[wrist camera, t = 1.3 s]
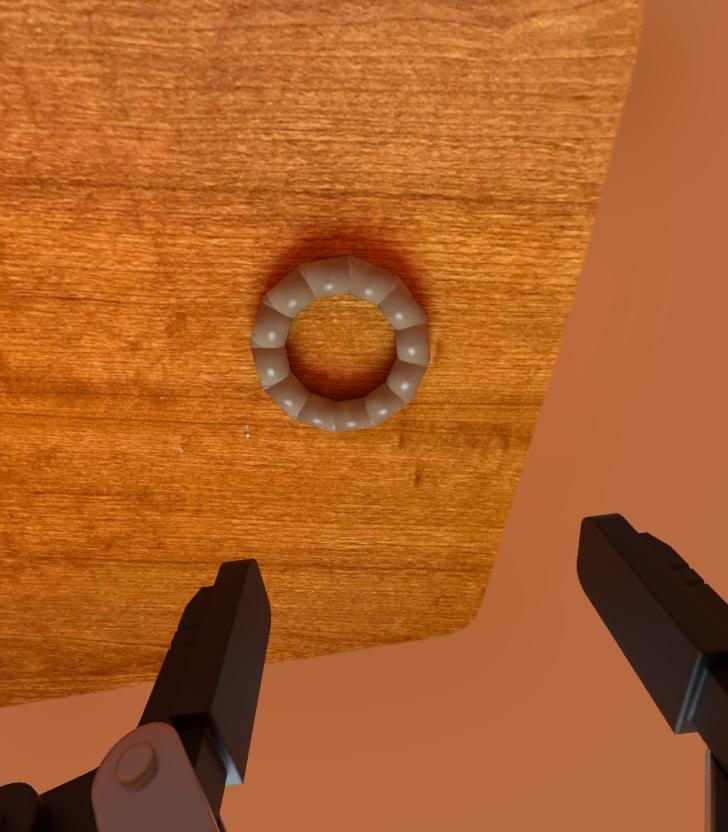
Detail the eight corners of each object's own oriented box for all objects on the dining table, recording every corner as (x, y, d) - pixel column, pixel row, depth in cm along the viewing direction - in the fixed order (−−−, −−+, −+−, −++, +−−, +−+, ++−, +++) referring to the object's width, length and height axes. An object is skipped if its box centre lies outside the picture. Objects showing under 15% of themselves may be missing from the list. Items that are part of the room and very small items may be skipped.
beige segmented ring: (236, 271, 23) (228, 275, 21) (418, 244, 22) (424, 246, 21) (277, 432, 27) (272, 447, 25) (431, 410, 27) (437, 423, 25)
